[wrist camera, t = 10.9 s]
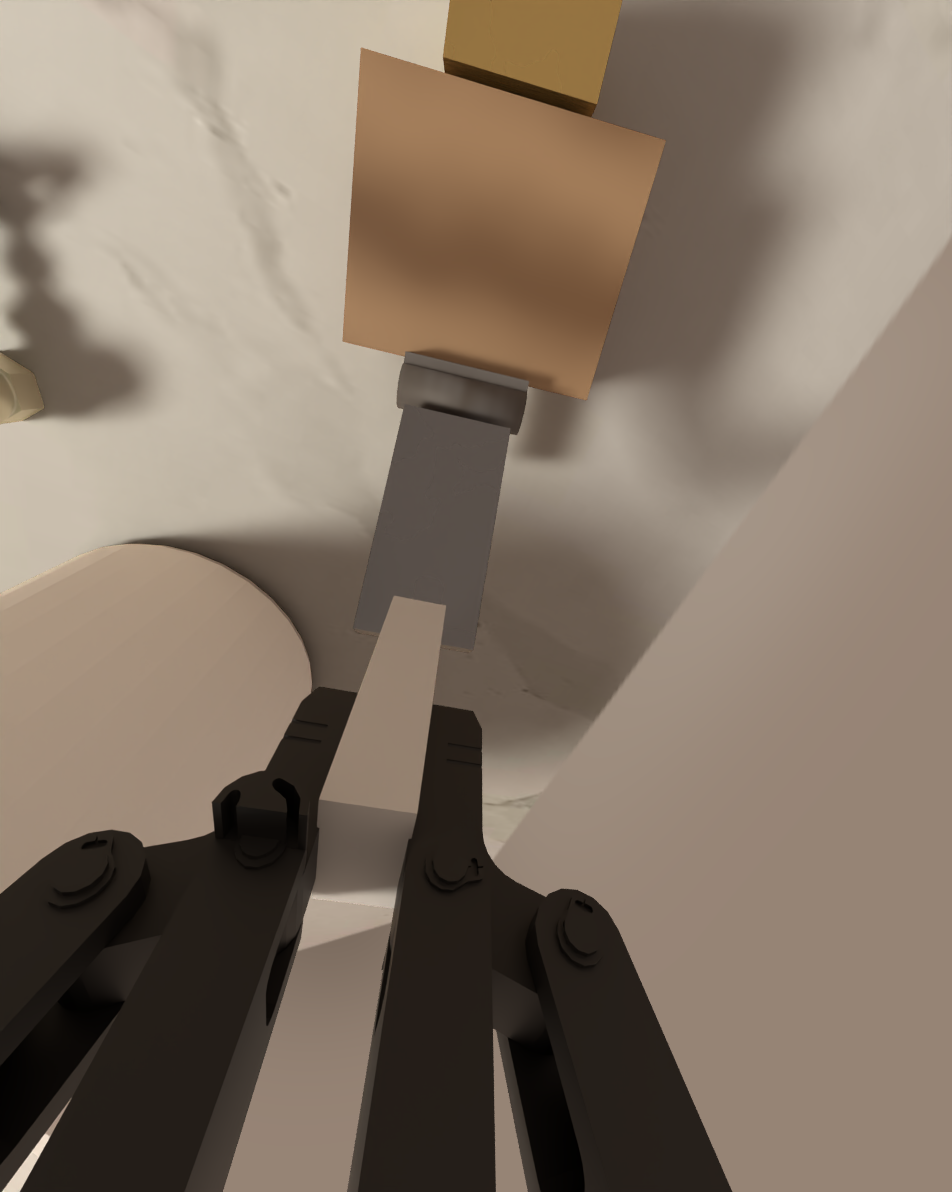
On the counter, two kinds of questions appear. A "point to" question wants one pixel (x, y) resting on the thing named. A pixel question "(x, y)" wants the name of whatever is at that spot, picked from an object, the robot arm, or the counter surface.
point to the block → (486, 238)
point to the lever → (436, 522)
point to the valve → (17, 392)
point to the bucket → (134, 702)
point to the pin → (533, 47)
